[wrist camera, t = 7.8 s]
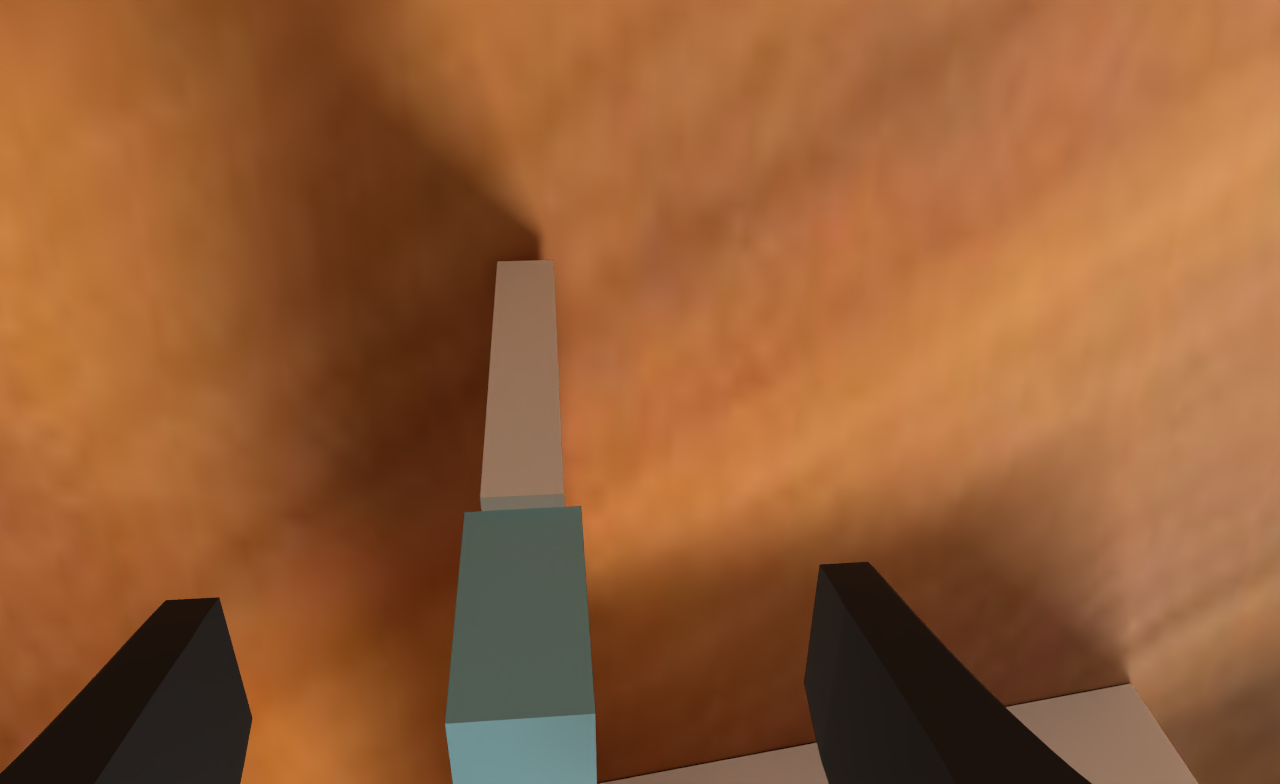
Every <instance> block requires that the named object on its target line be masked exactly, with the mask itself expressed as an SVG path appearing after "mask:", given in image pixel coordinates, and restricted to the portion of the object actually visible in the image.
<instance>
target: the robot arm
mask: <svg viewBox="0 0 1280 784" xmlns="http://www.w3.org/2000/svg"><path fill="white" fill-rule="evenodd" d="M804 685H805V689H806V694H807V699H808V704H809V709H810V713H811V718H812V723H813V728H814V732H815V736H816V741H817V745H818V750H819V754H820V758H821V762H822V765H823V768H824V771H825V774H826V777H827V780H828V783H829V784H1092V783H1091V782H1089V781H1088V780H1087V779H1086V778H1084V777H1083V776H1082V775H1081V774H1079V773H1078V772H1077V771H1076V770H1074V769H1073V768H1072V767H1071V766H1070V765H1069V764H1067V763H1066V762H1065V761H1064V760H1063V759H1062V758H1061V757H1059V756H1058V755H1057V754H1056V753H1055V752H1054V751H1053V750H1051V749H1050V748H1049V747H1048V746H1047V745H1046V744H1045V743H1044V742H1043V741H1041V740H1040V739H1039V738H1038V737H1037V736H1036V735H1035V734H1034V733H1033V732H1032V731H1031V730H1029V729H1028V728H1027V727H1026V726H1025V725H1024V724H1023V723H1022V722H1021V721H1020V720H1019V719H1017V718H1016V717H1015V716H1014V715H1013V714H1012V713H1011V712H1010V711H1009V710H1008V709H1007V708H1006V707H1005V706H1004V705H1003V704H1002V703H1001V702H1000V701H999V700H998V699H997V698H996V697H995V696H993V694H992V693H991V692H990V691H989V690H988V689H987V688H986V687H985V686H984V685H983V684H982V683H981V682H980V681H979V680H978V679H977V678H976V677H975V676H974V675H973V674H972V673H971V672H970V671H969V670H968V669H967V668H966V667H965V666H964V665H963V664H962V663H961V662H960V661H959V660H958V659H957V658H956V657H955V656H954V655H953V654H952V653H951V652H950V651H949V650H948V649H947V648H946V646H945V645H944V644H943V643H942V642H941V641H940V640H939V639H938V638H937V637H936V636H935V635H934V634H933V633H932V631H931V630H930V629H929V628H928V627H927V626H926V625H925V624H924V623H923V622H922V621H921V619H920V618H919V617H918V616H917V615H916V614H915V613H914V612H913V611H912V610H911V608H910V607H909V606H908V605H907V604H906V603H905V602H904V601H903V600H902V598H901V597H900V596H899V595H898V594H897V593H896V592H895V591H894V589H893V588H892V587H891V586H890V585H889V584H888V583H887V582H886V580H885V579H884V578H883V577H882V576H881V575H880V574H879V573H878V572H877V570H876V569H875V568H874V567H873V566H872V565H871V564H870V563H868V562H859V563H841V564H823V565H820V566H819V574H818V581H817V589H816V596H815V604H814V611H813V619H812V626H811V634H810V642H809V649H808V657H807V664H806V672H805V679H804ZM251 723H252V715H251V711H250V708H249V704H248V701H247V697H246V693H245V690H244V686H243V682H242V679H241V675H240V671H239V668H238V664H237V660H236V657H235V653H234V650H233V646H232V642H231V639H230V635H229V631H228V628H227V624H226V620H225V617H224V613H223V610H222V606H221V602H220V599H219V597H218V598H200V599H182V600H166V601H165V602H164V603H163V604H162V605H161V606H160V607H159V608H158V609H157V610H156V611H155V612H154V613H153V614H152V615H151V616H150V617H149V618H148V619H147V620H146V622H145V623H144V624H143V625H142V626H141V627H140V628H139V629H138V630H137V631H136V632H135V633H134V634H133V636H132V637H131V638H130V639H129V640H128V641H127V642H126V643H125V644H124V645H123V646H122V647H121V649H120V650H119V651H118V652H117V653H116V654H115V655H114V656H113V657H112V658H111V659H110V661H109V662H108V663H107V664H106V665H105V666H104V667H103V668H102V669H101V670H100V671H99V672H98V674H97V675H96V676H95V677H94V678H93V679H92V680H91V681H90V682H89V683H88V684H87V685H86V686H85V688H84V689H83V690H82V691H81V692H80V693H79V694H78V695H77V696H76V697H75V698H74V699H73V700H72V701H71V702H70V703H69V704H68V706H67V707H66V708H65V709H64V710H63V711H62V712H61V713H60V714H59V715H58V716H57V717H56V718H55V719H54V720H53V721H52V722H51V723H50V724H49V725H48V726H47V727H46V728H45V729H44V730H43V732H42V733H41V734H40V735H39V736H38V737H37V738H36V739H35V740H34V741H33V742H32V743H31V744H30V745H29V746H28V747H27V748H26V749H25V750H24V751H23V752H22V753H21V754H20V755H19V756H18V757H17V758H16V759H15V760H14V761H13V762H12V763H11V764H10V765H9V766H8V767H7V768H6V769H5V770H4V771H3V772H2V773H1V774H0V784H240V782H241V777H242V772H243V767H244V762H245V756H246V751H247V745H248V739H249V734H250V728H251Z"/></svg>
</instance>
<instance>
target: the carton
mask: <svg viewBox="0 0 1280 784" xmlns="http://www.w3.org/2000/svg"><path fill="white" fill-rule="evenodd" d="M1006 708H1007V709H1008V710H1009V711H1010V712H1011V713H1012V714H1013V715H1014V716H1015V717H1016V718H1017V719H1019V720H1020V721H1021V722H1022V723H1023V724H1024V725H1025V726H1026V727H1027V728H1028V729H1029V730H1031V731H1032V732H1033V733H1034V734H1035V735H1036V736H1037V737H1038V738H1039V739H1040V740H1041V741H1043V742H1044V743H1045V744H1046V745H1047V746H1048V747H1049V748H1050V749H1051V750H1053V751H1054V752H1055V753H1056V754H1057V755H1058V756H1059V757H1061V758H1062V759H1063V760H1064V761H1065V762H1066V763H1067V764H1069V765H1070V766H1071V767H1072V768H1073V769H1074V770H1076V771H1077V772H1078V773H1079V774H1081V775H1082V776H1083V777H1084V778H1086V779H1087V780H1088V781H1089V782H1091V783H1092V784H1198V782H1197V781H1196V779H1195V778H1194V776H1193V775H1192V773H1191V772H1190V770H1189V769H1188V767H1187V766H1186V764H1185V763H1184V761H1183V760H1182V758H1181V757H1180V755H1179V754H1178V752H1177V751H1176V749H1175V748H1174V746H1173V745H1172V743H1171V742H1170V740H1169V739H1168V738H1167V736H1166V735H1165V733H1164V732H1163V730H1162V729H1161V727H1160V726H1159V724H1158V723H1157V721H1156V720H1155V718H1154V717H1153V715H1152V714H1151V712H1150V711H1149V709H1148V708H1147V706H1146V705H1145V703H1144V702H1143V700H1142V699H1141V697H1140V696H1139V694H1138V693H1137V691H1136V690H1135V688H1134V687H1133V685H1132V684H1126V685H1120V686H1115V687H1110V688H1104V689H1099V690H1094V691H1088V692H1083V693H1078V694H1072V695H1067V696H1062V697H1057V698H1051V699H1046V700H1041V701H1035V702H1030V703H1025V704H1019V705H1014V706H1009V707H1006ZM600 784H829V783H828V780H827V777H826V774H825V771H824V768H823V765H822V762H821V758H820V754H819V750H818V745H817V743H812V744H807V745H802V746H796V747H791V748H786V749H780V750H775V751H770V752H764V753H759V754H754V755H748V756H743V757H738V758H733V759H727V760H722V761H717V762H711V763H706V764H701V765H695V766H690V767H685V768H679V769H674V770H669V771H663V772H658V773H653V774H648V775H642V776H637V777H632V778H626V779H621V780H616V781H610V782H605V783H600Z"/></svg>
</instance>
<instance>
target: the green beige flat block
mask: <svg viewBox="0 0 1280 784" xmlns="http://www.w3.org/2000/svg"><path fill="white" fill-rule="evenodd" d="M480 502H481V511H474V512H465V513H464V523H463V534H462V545H461V556H460V566H459V577H458V588H457V599H456V609H455V620H454V631H453V642H452V653H451V663H450V674H449V685H448V696H447V706H446V717H445V728H446V736H447V743H448V751H449V758H450V766H451V773H452V780H453V784H597V768H596V722H595V702H594V687H593V673H592V658H591V643H590V629H589V614H588V600H587V585H586V571H585V556H584V541H583V527H582V512H581V506H574V507H565V505H564V482H563V460H562V438H561V416H560V394H559V372H558V350H557V329H556V307H555V285H554V263H553V260H532V261H498V262H497V272H496V286H495V300H494V314H493V327H492V341H491V355H490V369H489V382H488V396H487V410H486V424H485V437H484V451H483V465H482V479H481V492H480Z"/></svg>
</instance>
